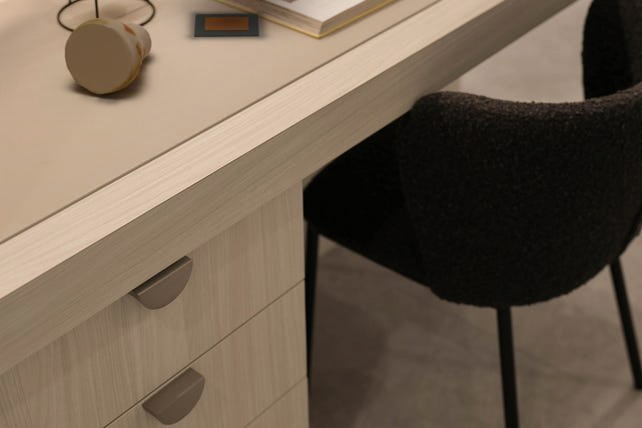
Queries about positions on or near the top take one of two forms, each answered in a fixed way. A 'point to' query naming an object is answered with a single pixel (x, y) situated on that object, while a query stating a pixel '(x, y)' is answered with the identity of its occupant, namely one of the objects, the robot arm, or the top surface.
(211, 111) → the top surface
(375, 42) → the top surface
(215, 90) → the top surface
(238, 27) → the mat
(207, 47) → the top surface
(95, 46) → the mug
